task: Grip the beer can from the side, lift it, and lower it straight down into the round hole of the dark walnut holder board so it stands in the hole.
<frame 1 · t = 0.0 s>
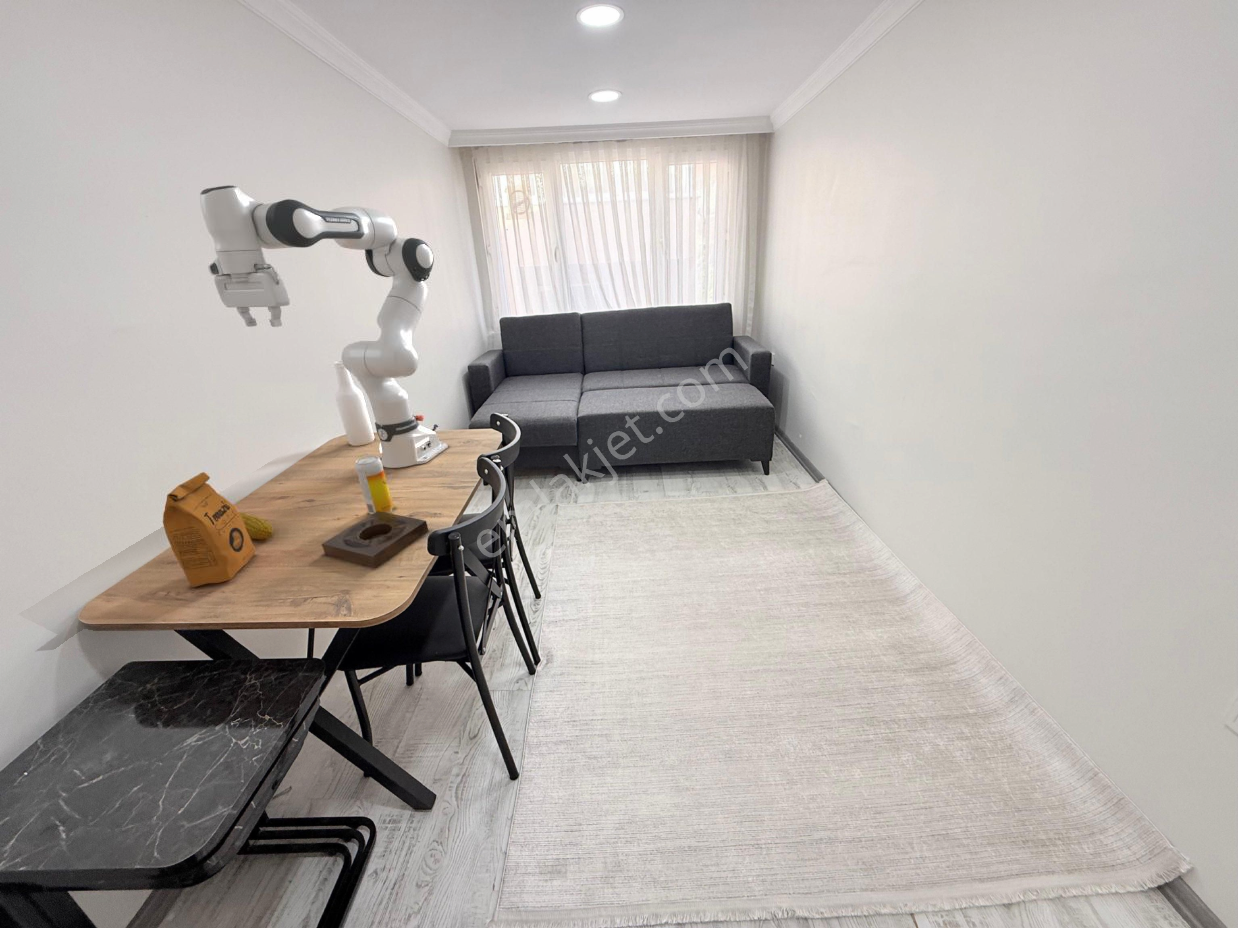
hand: (264, 326, 120), 48 cm above the table, tool pointing down, fingers open, 8 cm apart
holder: (378, 542, 116), on the table
beer can: (381, 512, 131), on the table
food: (245, 534, 124), on the table
alcohol: (362, 442, 183), on the table
coffee package: (227, 571, 109), on the table
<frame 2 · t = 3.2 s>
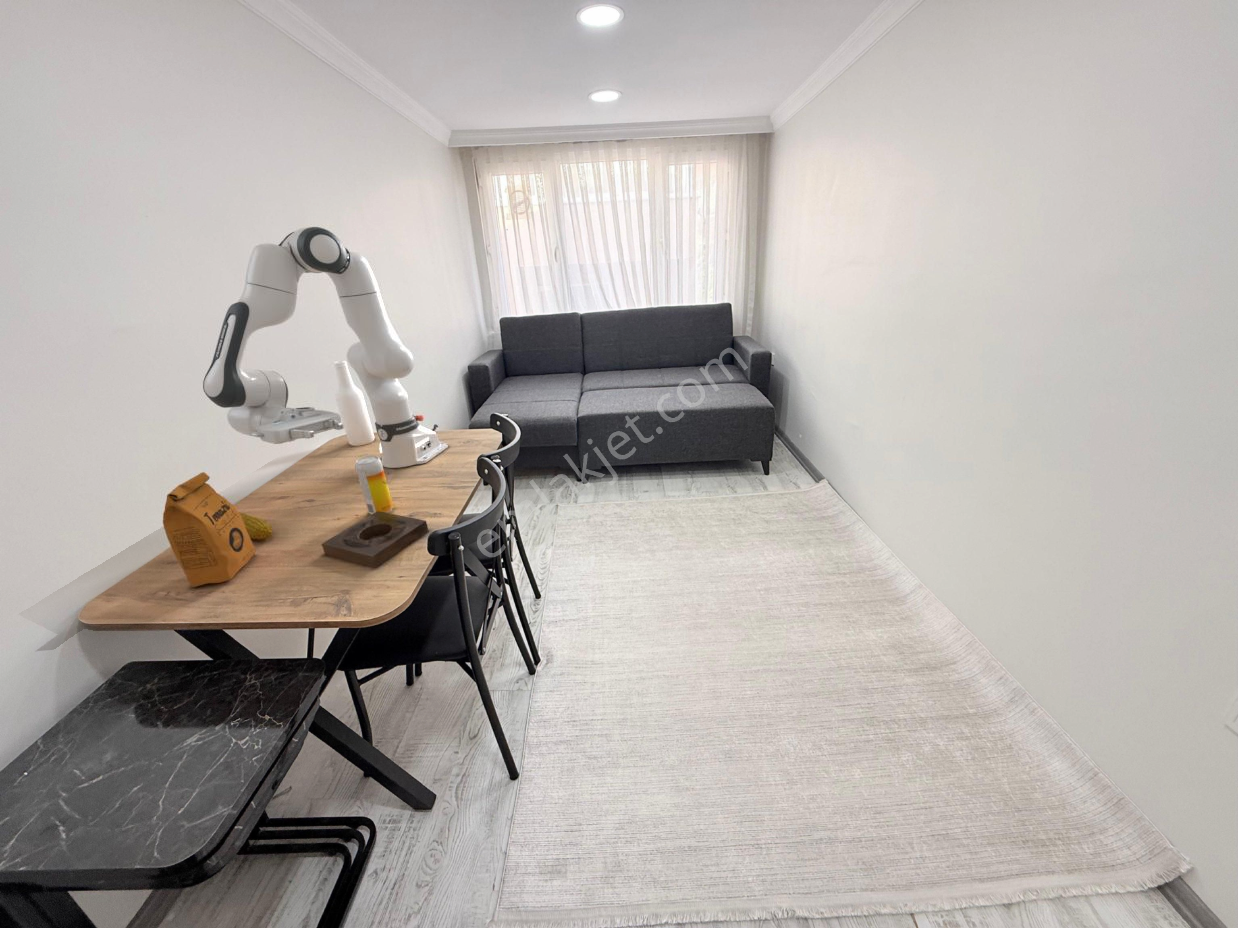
hand: (327, 430, 127), 22 cm above the table, tool horizontal, fingers open, 8 cm apart
nothing on the table moved.
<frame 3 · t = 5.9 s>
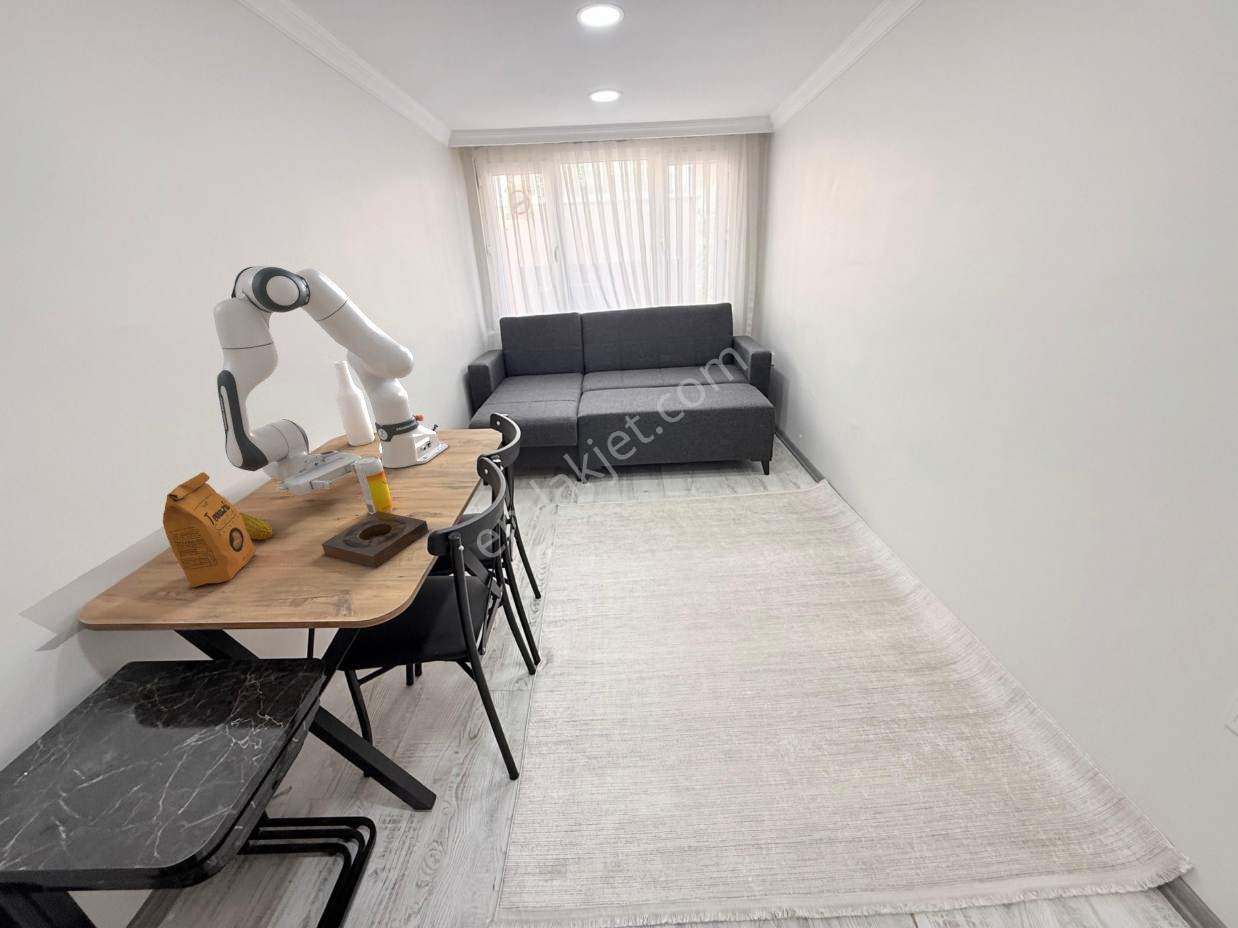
hand: (346, 477, 131), 9 cm above the table, tool horizontal, fingers open, 8 cm apart
nothing on the table moved.
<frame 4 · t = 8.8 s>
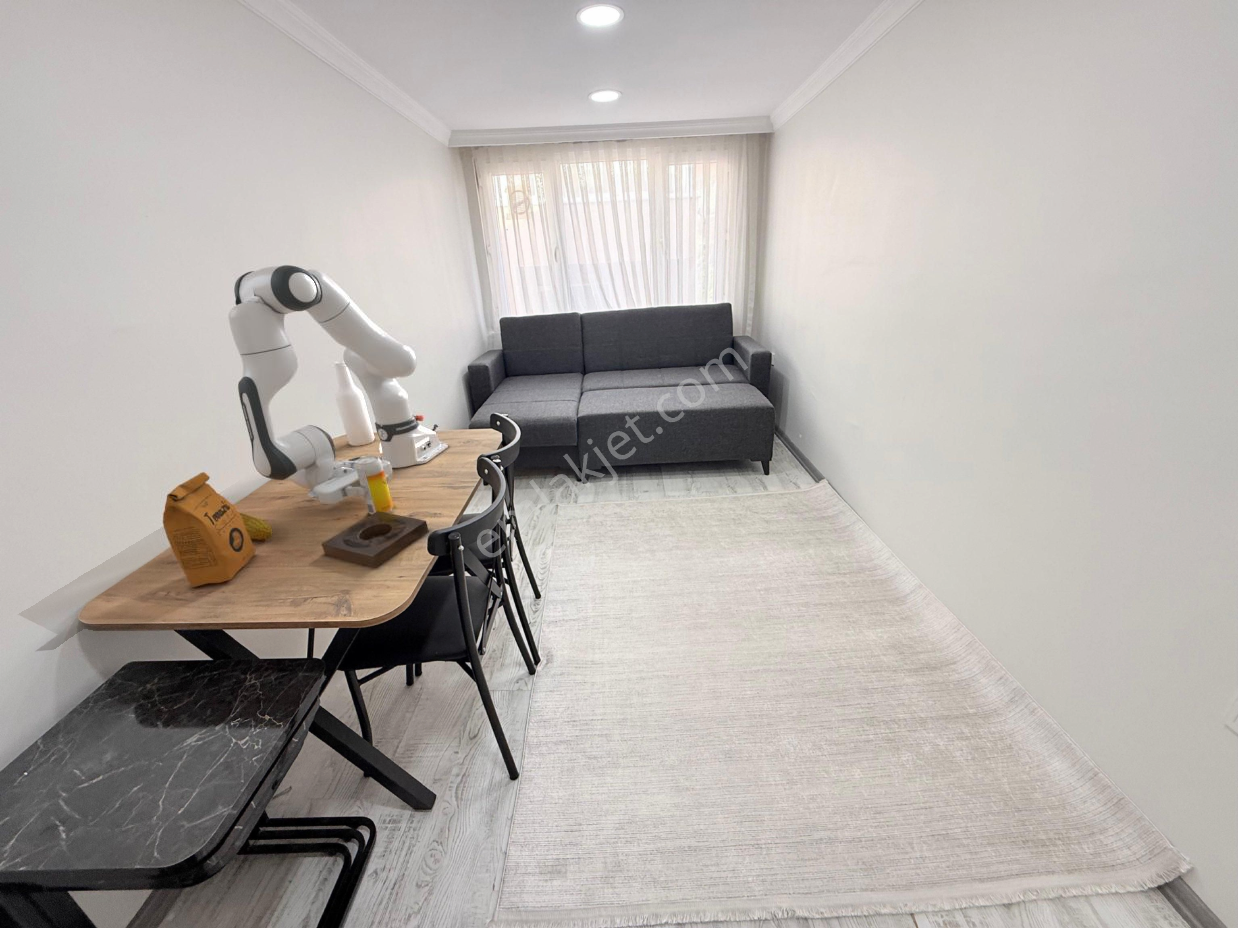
hand: (376, 484, 128), 8 cm above the table, tool horizontal, fingers closed on beer can, 6 cm apart
beer can: (381, 512, 131), on the table, touching gripper
everything else where it was.
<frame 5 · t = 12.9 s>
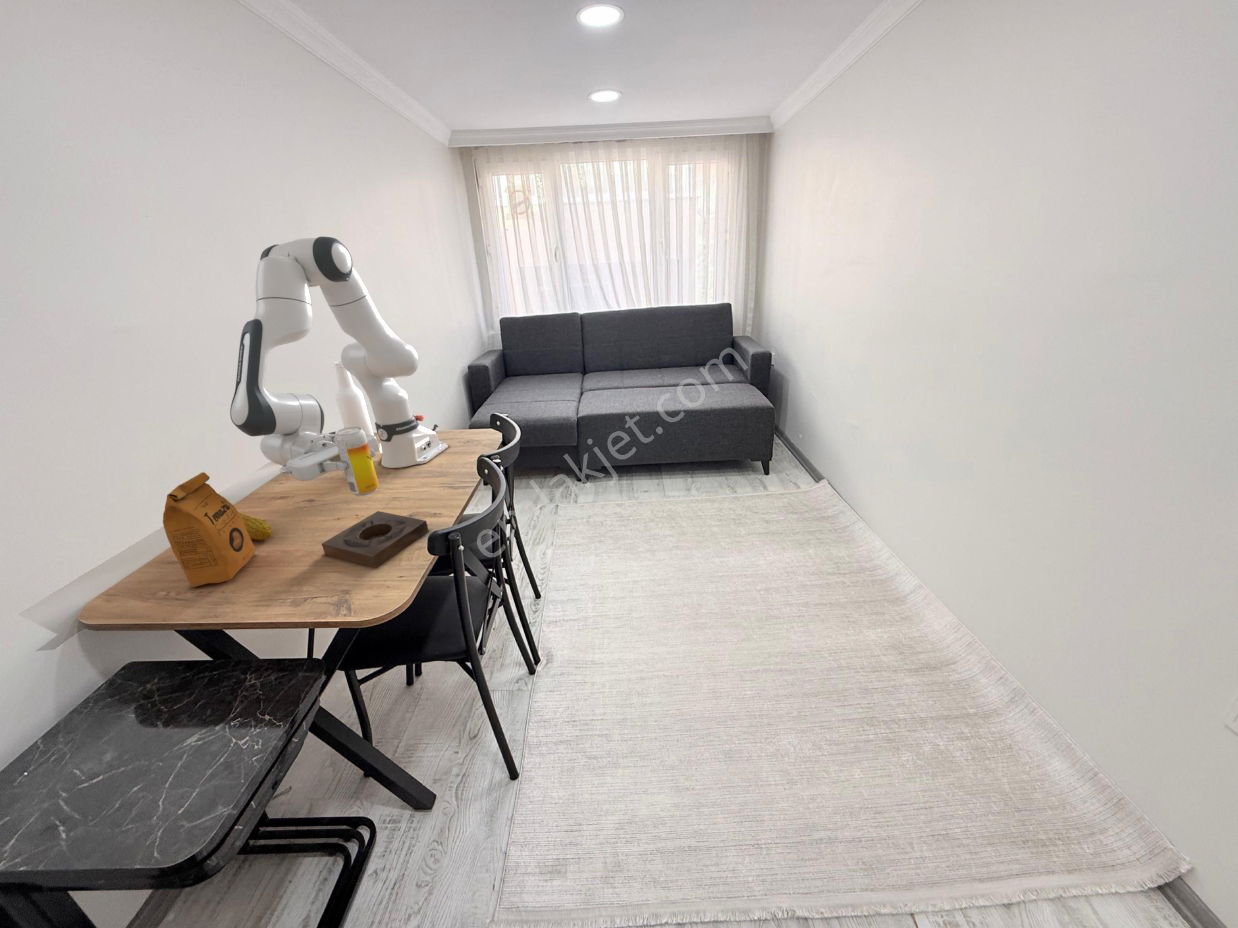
hand: (359, 459, 111), 20 cm above the table, tool horizontal, fingers closed on beer can, 6 cm apart
beer can: (365, 491, 115), point 12 cm above the table, touching gripper
everything else where it was.
when the fingers open (8 cm above the table, at t = 17.2 s): beer can stays where it is, resting in holder.
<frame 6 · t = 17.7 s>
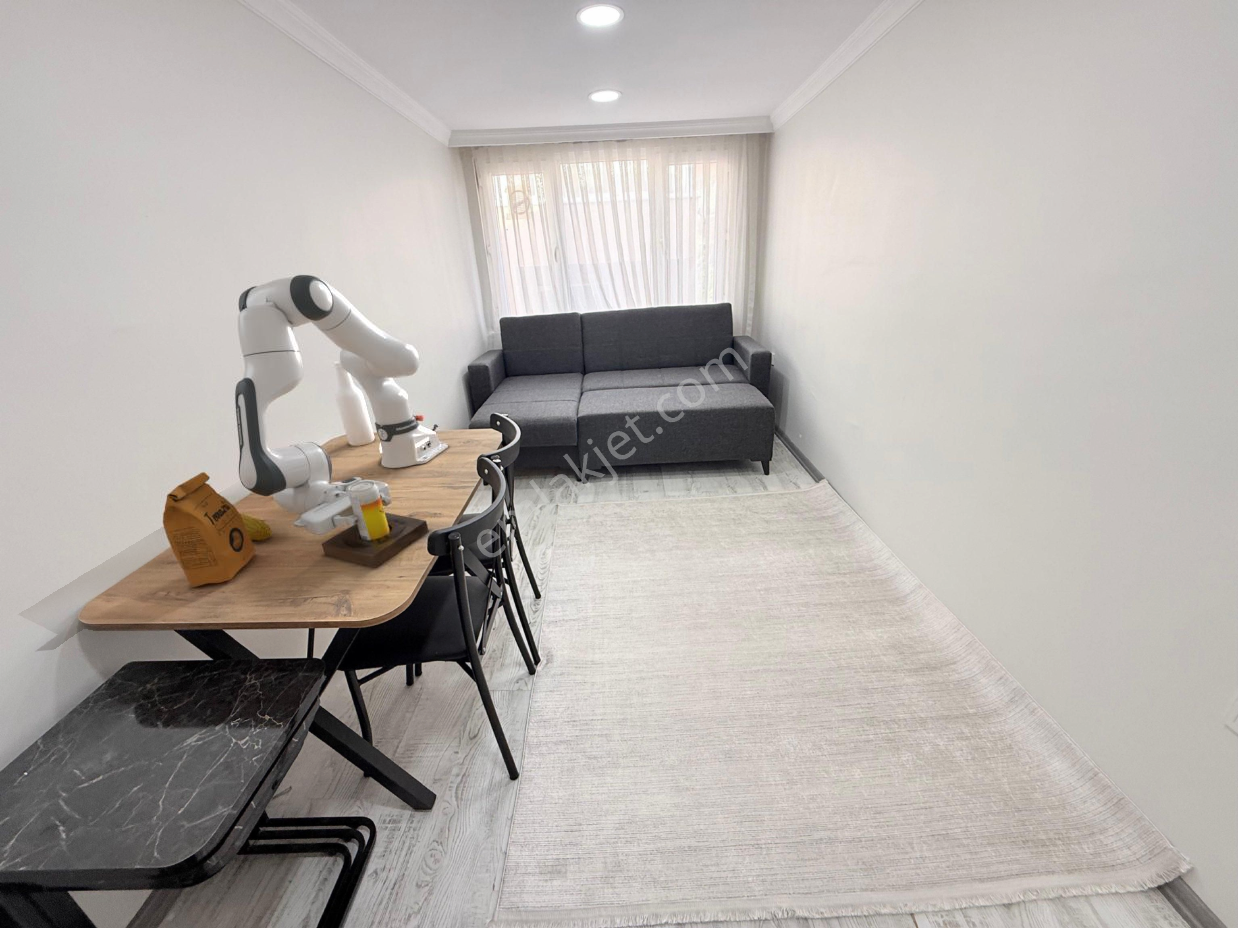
hand: (372, 511, 113), 9 cm above the table, tool horizontal, fingers open, 8 cm apart
beer can: (378, 543, 116), resting in holder
everything else where it was.
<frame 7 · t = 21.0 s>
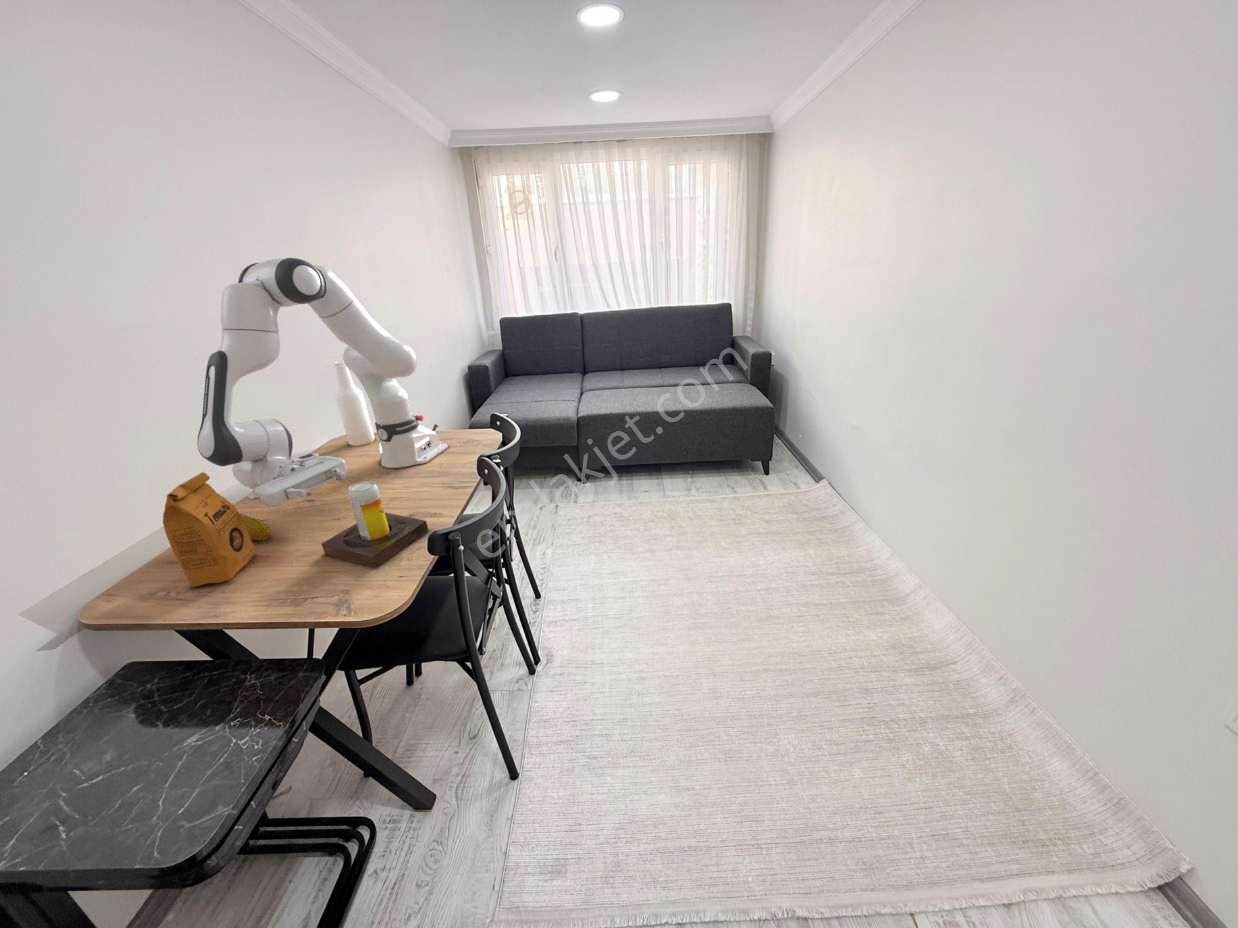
hand: (326, 484, 116), 13 cm above the table, tool horizontal, fingers open, 8 cm apart
nothing on the table moved.
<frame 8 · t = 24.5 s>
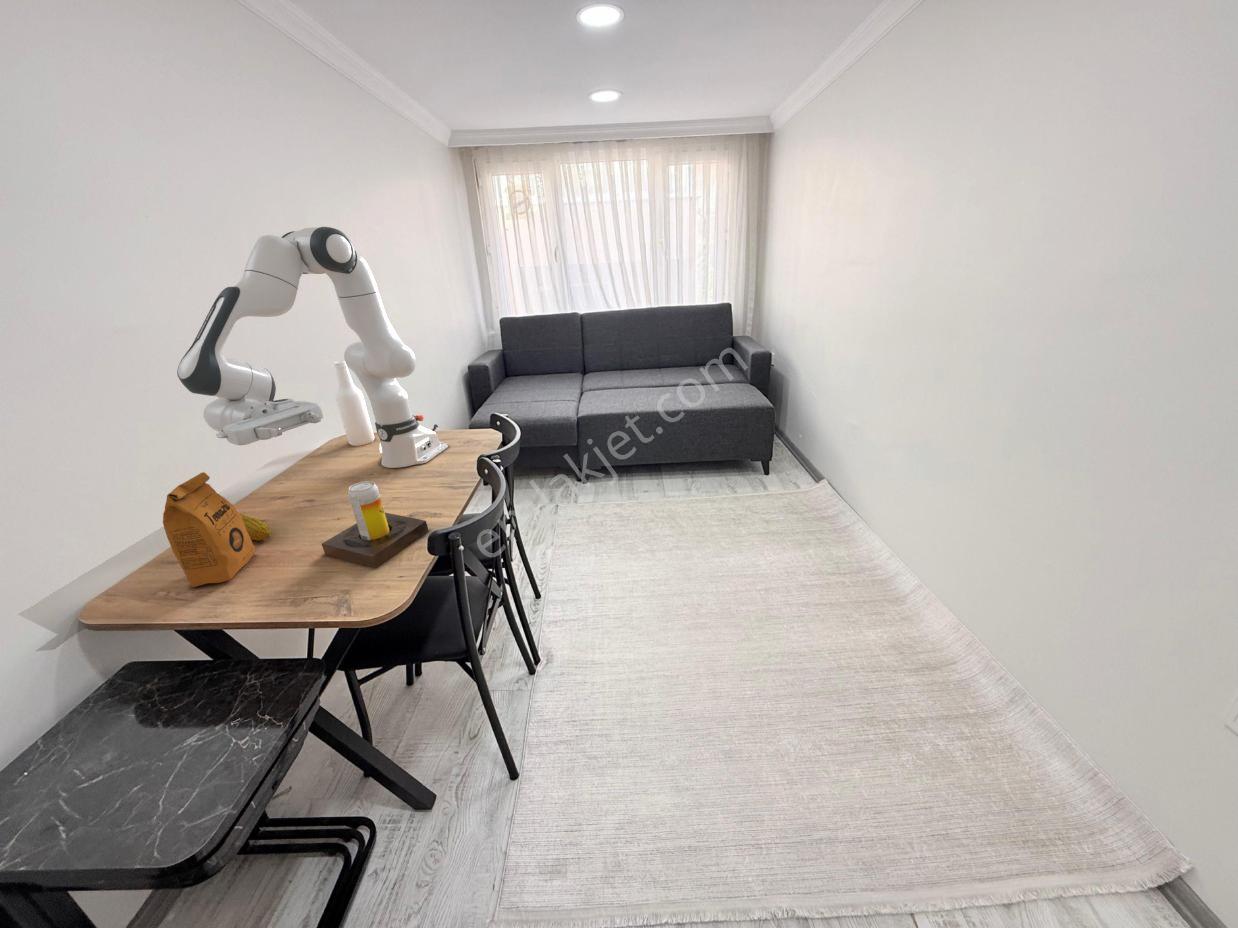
hand: (298, 425, 111), 28 cm above the table, tool horizontal, fingers open, 8 cm apart
nothing on the table moved.
at the end: beer can 0.2 cm off-centre in the holder, point 0.0 cm above the holder's base; beer can tilted 0°; the gripper is holding nothing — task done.
